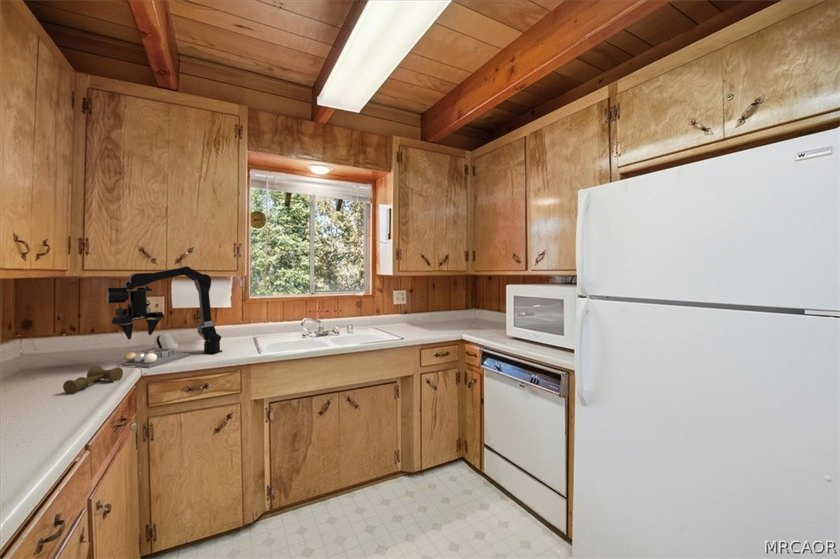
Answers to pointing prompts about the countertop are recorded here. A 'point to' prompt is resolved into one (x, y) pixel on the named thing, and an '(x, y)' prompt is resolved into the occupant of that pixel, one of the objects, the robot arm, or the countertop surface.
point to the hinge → (165, 341)
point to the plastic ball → (150, 358)
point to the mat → (157, 362)
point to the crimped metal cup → (163, 352)
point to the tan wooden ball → (129, 357)
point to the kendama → (92, 378)
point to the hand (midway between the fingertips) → (139, 337)
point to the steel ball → (140, 357)
